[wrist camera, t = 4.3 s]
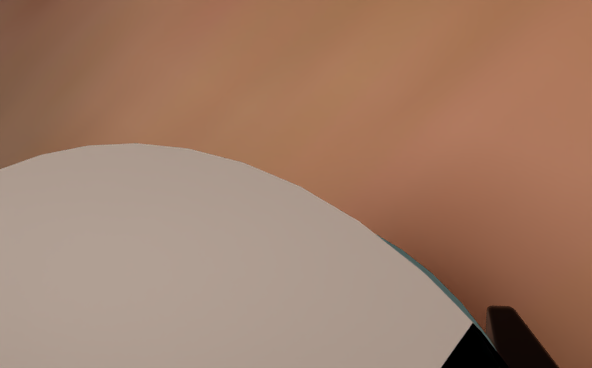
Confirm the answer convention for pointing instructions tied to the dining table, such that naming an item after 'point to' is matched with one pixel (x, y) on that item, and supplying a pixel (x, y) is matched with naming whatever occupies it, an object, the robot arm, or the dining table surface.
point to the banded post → (207, 272)
